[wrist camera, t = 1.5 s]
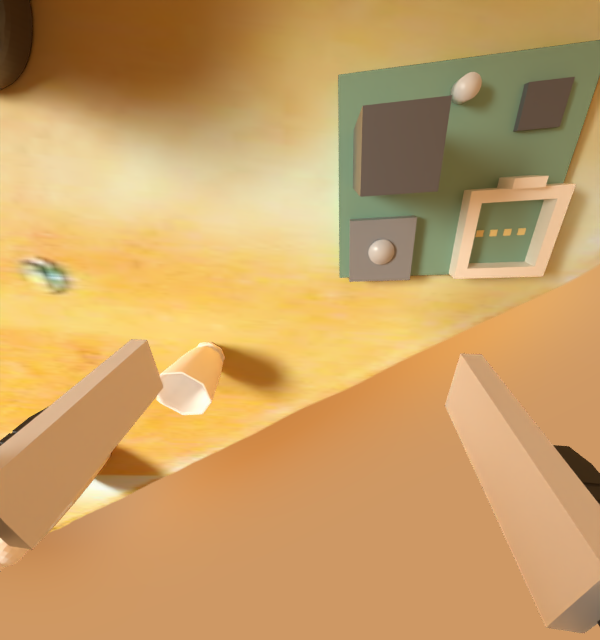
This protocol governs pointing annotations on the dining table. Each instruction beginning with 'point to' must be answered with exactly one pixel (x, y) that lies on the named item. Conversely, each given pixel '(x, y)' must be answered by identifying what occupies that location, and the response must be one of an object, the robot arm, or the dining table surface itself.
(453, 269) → the frame
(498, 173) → the board
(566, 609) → the robot arm
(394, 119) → the plug
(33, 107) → the dining table surface
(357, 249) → the grey push button
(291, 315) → the dining table surface
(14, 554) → the soap bottle
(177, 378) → the cup
